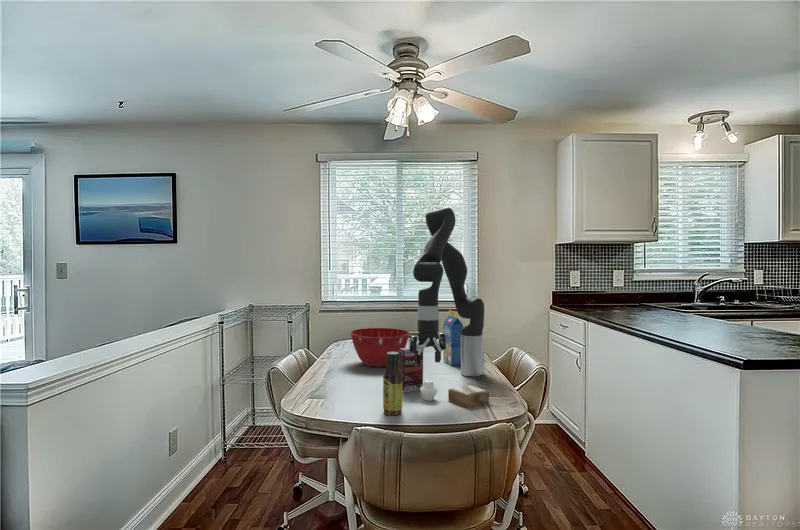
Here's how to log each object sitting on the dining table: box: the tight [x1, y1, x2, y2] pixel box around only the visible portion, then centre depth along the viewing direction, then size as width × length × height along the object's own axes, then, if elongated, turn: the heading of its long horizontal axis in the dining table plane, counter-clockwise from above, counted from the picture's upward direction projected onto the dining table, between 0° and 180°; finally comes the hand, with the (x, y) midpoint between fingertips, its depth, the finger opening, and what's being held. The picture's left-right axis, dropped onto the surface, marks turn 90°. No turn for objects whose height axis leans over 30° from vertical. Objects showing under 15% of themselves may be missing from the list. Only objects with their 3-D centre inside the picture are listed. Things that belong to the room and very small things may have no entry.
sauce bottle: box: [382, 352, 403, 416], centre depth 161 cm, size 7×6×20 cm
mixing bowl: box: [349, 327, 411, 368], centre depth 235 cm, size 28×28×15 cm
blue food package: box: [442, 309, 464, 367], centre depth 237 cm, size 6×12×25 cm, turn 13°
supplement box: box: [399, 347, 424, 393], centre depth 189 cm, size 9×5×16 cm, turn 117°
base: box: [448, 384, 490, 408], centre depth 174 cm, size 10×10×4 cm
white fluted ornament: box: [419, 379, 438, 402], centre depth 176 cm, size 6×6×7 cm
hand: (427, 363), depth 176 cm, fingers open, 8 cm apart
